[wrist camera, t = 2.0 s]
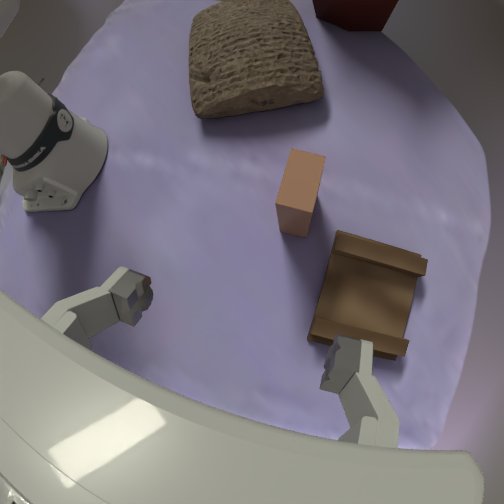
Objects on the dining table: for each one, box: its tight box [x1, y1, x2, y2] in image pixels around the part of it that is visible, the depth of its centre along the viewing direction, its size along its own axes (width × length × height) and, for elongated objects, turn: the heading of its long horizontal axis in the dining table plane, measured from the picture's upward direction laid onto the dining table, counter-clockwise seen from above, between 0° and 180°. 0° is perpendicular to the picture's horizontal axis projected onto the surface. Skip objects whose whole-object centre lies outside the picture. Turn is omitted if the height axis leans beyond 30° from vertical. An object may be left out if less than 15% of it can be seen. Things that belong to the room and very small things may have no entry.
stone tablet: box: [189, 0, 323, 118], centre depth 40 cm, size 20×8×30 cm
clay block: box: [275, 148, 326, 238], centre depth 33 cm, size 6×4×11 cm, turn 163°
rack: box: [307, 230, 428, 361], centre depth 33 cm, size 14×12×3 cm
